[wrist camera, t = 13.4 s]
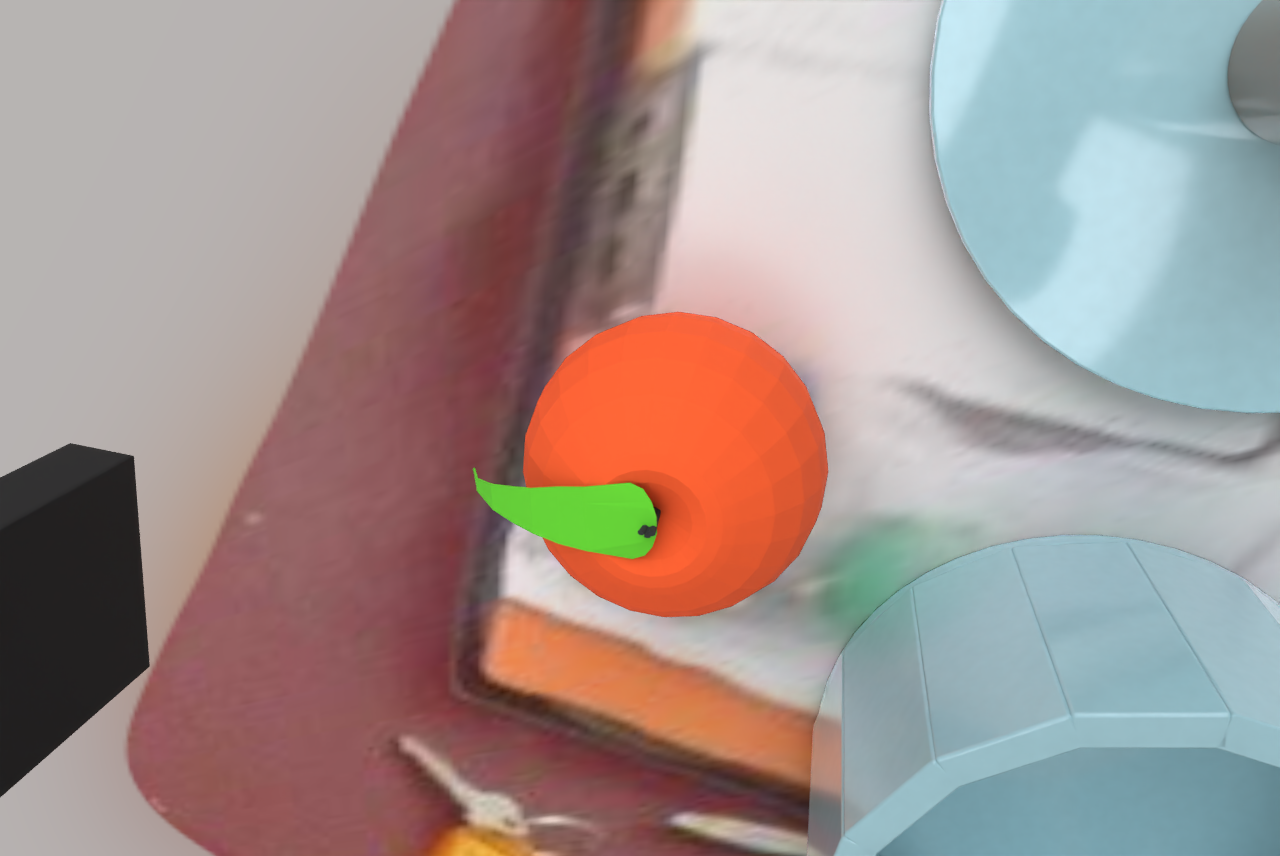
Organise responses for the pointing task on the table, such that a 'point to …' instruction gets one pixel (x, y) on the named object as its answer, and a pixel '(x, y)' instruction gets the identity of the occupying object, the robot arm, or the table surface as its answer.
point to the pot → (1055, 710)
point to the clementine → (671, 465)
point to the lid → (1123, 183)
